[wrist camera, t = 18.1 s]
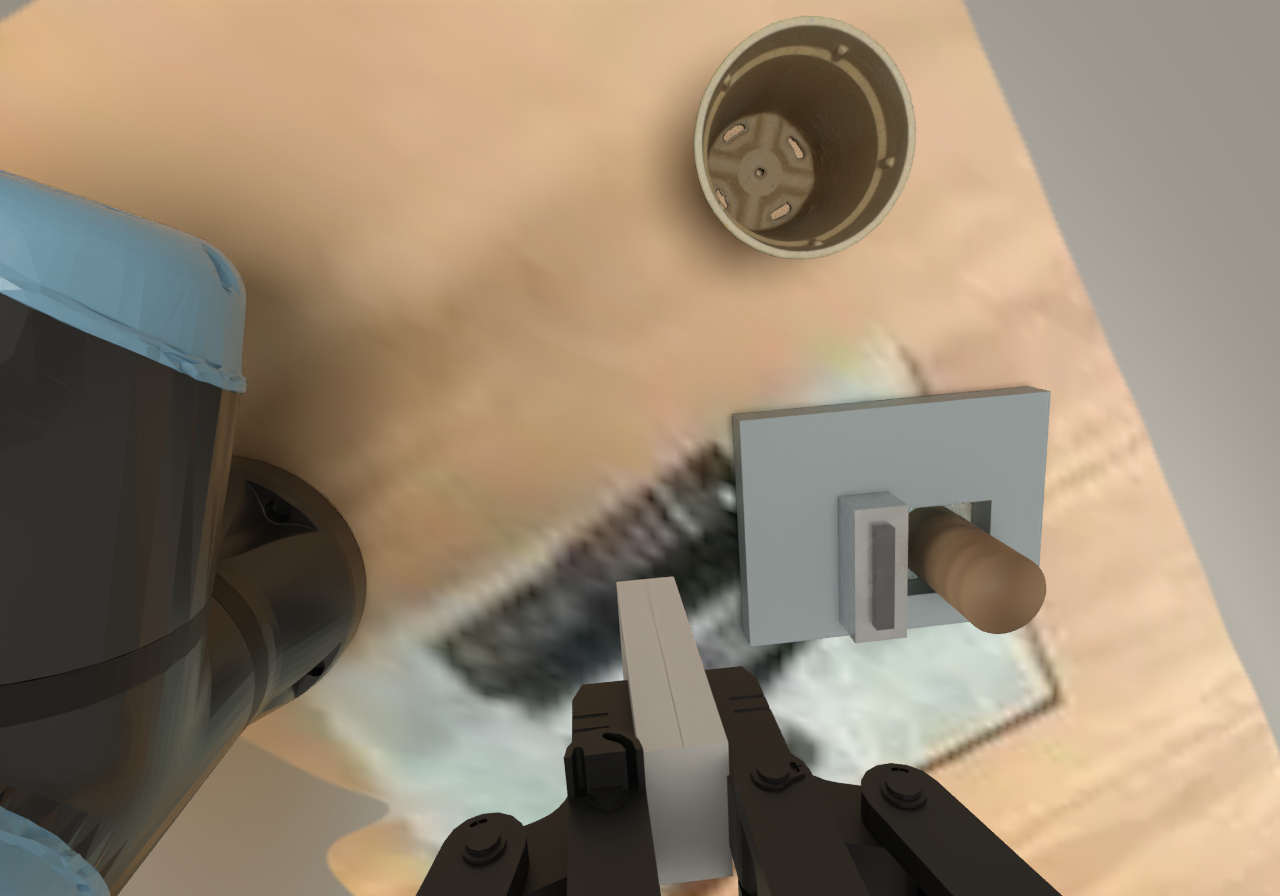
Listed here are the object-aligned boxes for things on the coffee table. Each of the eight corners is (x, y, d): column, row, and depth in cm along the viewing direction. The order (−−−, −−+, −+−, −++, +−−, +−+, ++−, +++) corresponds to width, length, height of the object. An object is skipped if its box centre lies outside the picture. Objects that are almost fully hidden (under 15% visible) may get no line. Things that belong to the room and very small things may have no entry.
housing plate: (743, 630, 43) (750, 646, 41) (732, 414, 39) (739, 421, 37) (1016, 599, 44) (1036, 614, 42) (1028, 386, 40) (1050, 391, 38)
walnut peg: (894, 574, 43) (961, 638, 35) (894, 509, 42) (964, 559, 34) (961, 566, 43) (1043, 628, 35) (963, 501, 42) (1048, 550, 34)
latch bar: (839, 622, 41) (859, 648, 38) (838, 496, 39) (859, 514, 36) (887, 616, 41) (911, 642, 38) (888, 491, 39) (913, 508, 36)
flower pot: (778, 298, 38) (831, 301, 30) (637, 204, 36) (652, 178, 28) (875, 147, 36) (960, 106, 28) (733, 42, 35) (779, -36, 26)
